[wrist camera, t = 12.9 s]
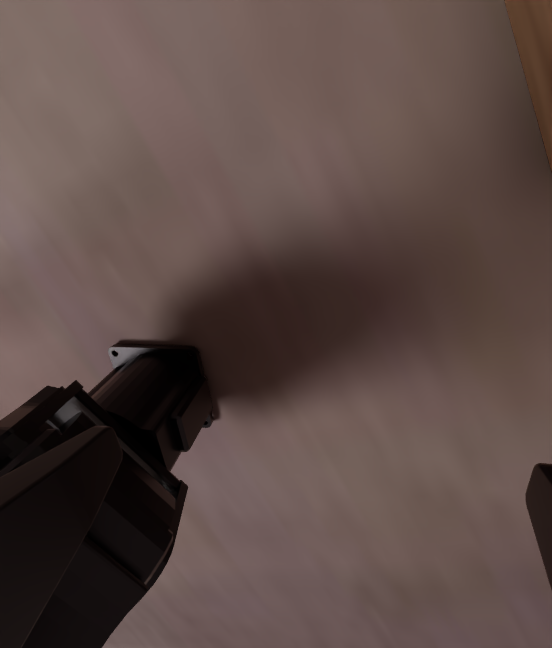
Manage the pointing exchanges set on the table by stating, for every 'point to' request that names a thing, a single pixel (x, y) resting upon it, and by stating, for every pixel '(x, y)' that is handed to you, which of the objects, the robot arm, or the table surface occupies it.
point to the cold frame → (536, 57)
